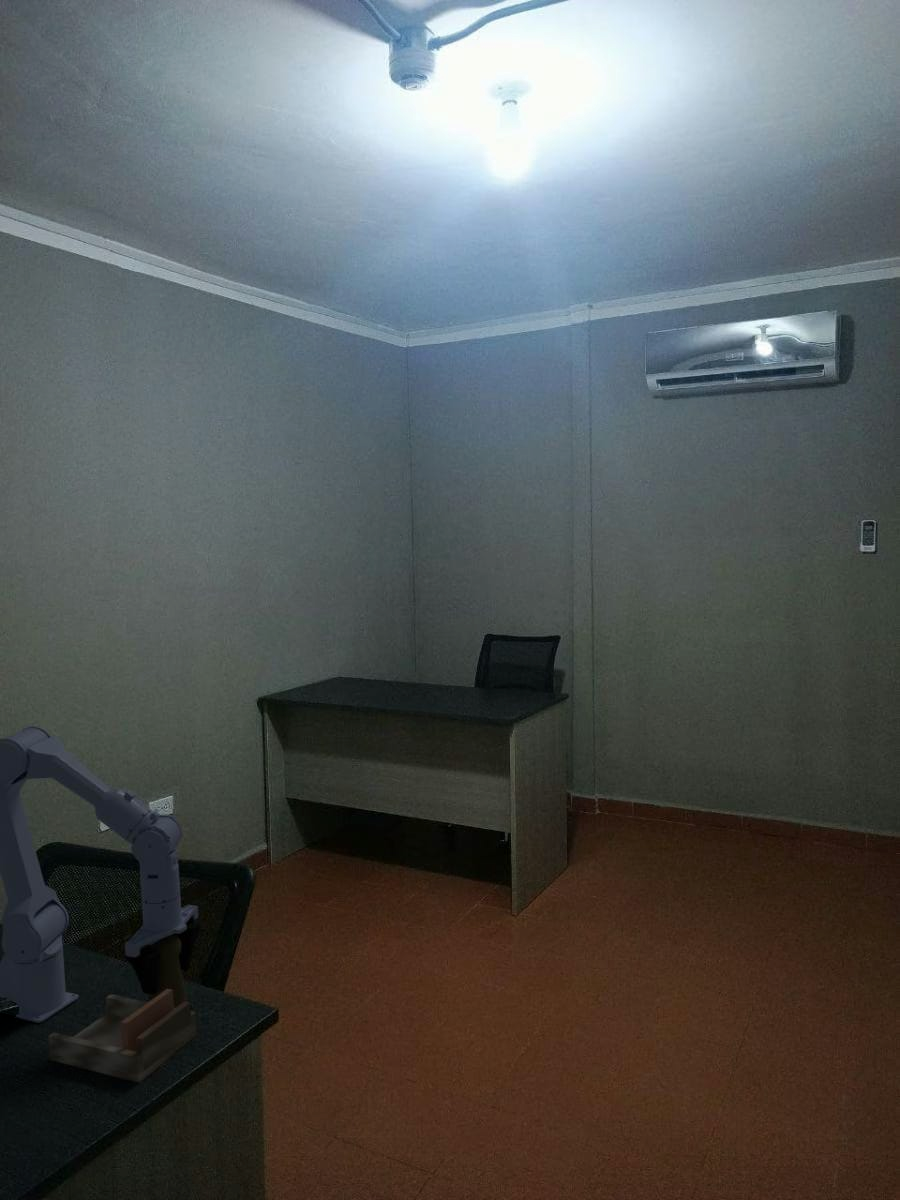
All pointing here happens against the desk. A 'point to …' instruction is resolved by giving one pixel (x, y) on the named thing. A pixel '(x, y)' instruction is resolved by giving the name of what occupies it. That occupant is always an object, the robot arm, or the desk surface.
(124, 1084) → the desk surface
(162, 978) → the brown tapered rounded cylinder
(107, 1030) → the wooden tray
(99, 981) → the desk surface
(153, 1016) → the lane pusher
